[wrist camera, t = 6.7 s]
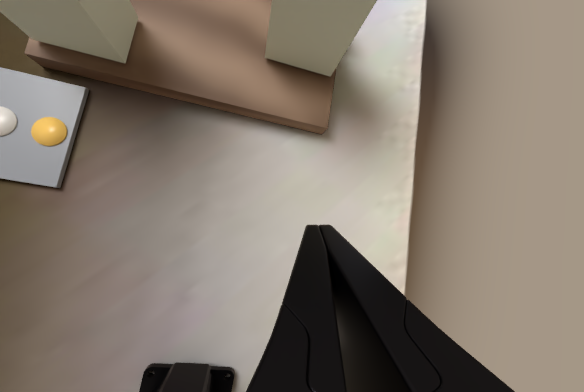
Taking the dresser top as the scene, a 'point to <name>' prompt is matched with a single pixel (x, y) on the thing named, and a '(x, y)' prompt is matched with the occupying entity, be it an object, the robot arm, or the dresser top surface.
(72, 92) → the card
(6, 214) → the dresser top surface
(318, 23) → the button
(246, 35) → the wooden base plate
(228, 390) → the robot arm
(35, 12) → the button
